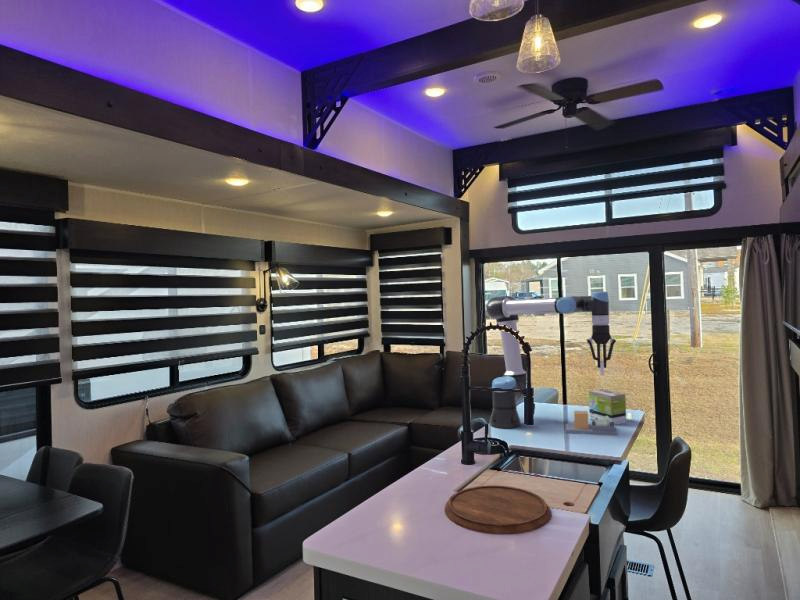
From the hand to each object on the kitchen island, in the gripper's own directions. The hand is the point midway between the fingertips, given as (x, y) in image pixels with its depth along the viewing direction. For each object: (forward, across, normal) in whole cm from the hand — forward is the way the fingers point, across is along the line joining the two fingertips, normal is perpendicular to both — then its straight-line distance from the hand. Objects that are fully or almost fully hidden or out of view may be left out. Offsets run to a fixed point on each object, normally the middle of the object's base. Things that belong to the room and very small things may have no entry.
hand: (602, 374), depth 243 cm
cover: (+23, -1, 0) cm, 23 cm away
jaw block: (+25, -10, 0) cm, 27 cm away
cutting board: (+27, -37, -100) cm, 110 cm away
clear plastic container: (+26, -6, 0) cm, 27 cm away
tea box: (+27, +3, +20) cm, 33 cm away
